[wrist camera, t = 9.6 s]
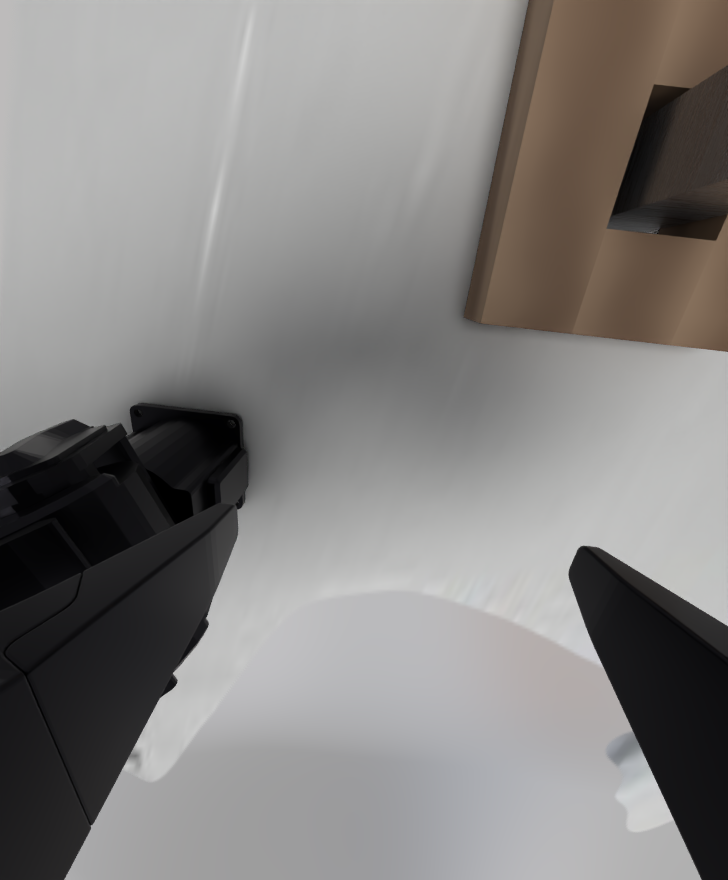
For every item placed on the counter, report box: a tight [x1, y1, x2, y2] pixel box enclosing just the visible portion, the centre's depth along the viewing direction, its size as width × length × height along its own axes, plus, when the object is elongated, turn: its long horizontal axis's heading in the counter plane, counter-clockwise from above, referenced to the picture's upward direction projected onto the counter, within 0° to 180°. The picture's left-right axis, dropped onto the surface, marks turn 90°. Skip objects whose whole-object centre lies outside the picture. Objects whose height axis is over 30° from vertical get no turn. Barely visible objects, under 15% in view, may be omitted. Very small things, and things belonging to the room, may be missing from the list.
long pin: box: [606, 65, 728, 232], centre depth 11 cm, size 3×3×10 cm
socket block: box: [464, 0, 728, 352], centre depth 14 cm, size 12×12×4 cm
